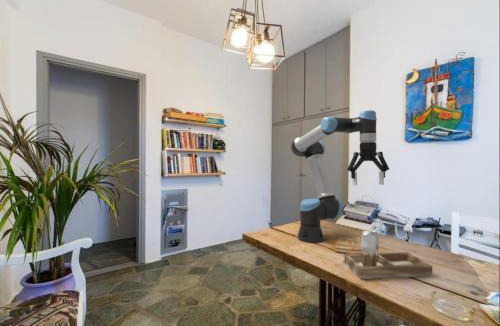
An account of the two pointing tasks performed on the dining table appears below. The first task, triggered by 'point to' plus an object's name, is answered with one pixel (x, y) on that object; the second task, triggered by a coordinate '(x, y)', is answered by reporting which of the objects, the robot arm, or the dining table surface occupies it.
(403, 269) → the tray
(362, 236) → the metal cup
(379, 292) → the dining table surface
